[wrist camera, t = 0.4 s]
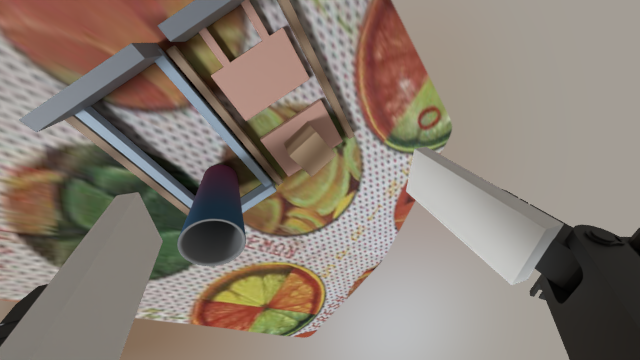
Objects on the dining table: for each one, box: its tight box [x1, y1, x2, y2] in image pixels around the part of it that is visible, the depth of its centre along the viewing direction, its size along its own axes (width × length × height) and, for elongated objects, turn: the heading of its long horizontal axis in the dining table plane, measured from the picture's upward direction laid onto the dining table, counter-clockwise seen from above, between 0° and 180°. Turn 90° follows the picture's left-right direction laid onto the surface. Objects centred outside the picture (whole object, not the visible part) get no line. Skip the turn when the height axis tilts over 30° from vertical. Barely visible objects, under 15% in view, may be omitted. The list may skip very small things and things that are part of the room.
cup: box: [178, 165, 246, 266], centre depth 32 cm, size 7×7×15 cm
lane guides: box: [65, 0, 354, 216], centre depth 34 cm, size 23×30×2 cm
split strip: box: [158, 0, 343, 177], centre depth 31 cm, size 24×11×8 cm, turn 29°
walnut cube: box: [284, 122, 336, 177], centre depth 36 cm, size 5×5×5 cm
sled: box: [20, 43, 276, 213], centre depth 31 cm, size 24×12×8 cm, turn 29°
